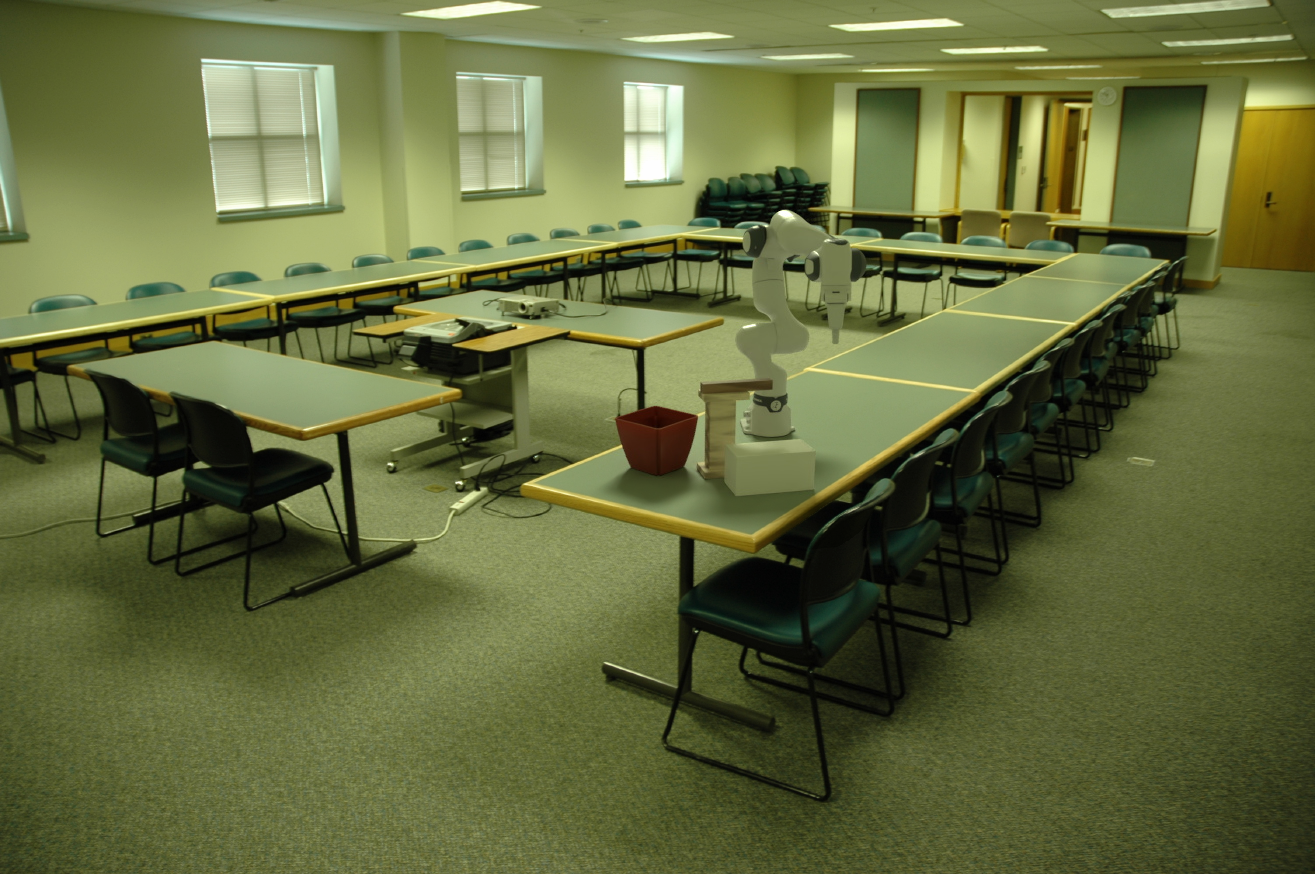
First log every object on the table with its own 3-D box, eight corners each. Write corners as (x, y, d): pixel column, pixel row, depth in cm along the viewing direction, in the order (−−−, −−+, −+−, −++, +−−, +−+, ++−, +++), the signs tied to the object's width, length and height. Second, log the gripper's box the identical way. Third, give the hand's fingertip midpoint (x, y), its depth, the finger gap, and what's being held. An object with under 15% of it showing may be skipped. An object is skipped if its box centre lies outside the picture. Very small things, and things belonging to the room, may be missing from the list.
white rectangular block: (724, 482, 278) (725, 444, 275) (799, 476, 283) (800, 438, 279) (735, 496, 267) (736, 457, 263) (813, 489, 272) (815, 451, 268)
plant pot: (614, 468, 291) (613, 417, 286) (655, 453, 305) (655, 404, 299) (658, 482, 279) (658, 429, 274) (699, 466, 292) (699, 415, 287)
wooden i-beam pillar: (696, 468, 290) (697, 388, 282) (739, 464, 293) (741, 386, 285) (705, 479, 281) (705, 396, 273) (748, 475, 284) (750, 394, 276)
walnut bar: (700, 391, 279) (700, 381, 278) (769, 387, 284) (769, 377, 283) (702, 393, 276) (702, 384, 275) (772, 389, 281) (772, 380, 280)
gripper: (825, 292, 280) (824, 338, 283) (824, 297, 260) (824, 346, 263) (846, 292, 279) (845, 337, 282) (847, 297, 259) (846, 346, 262)
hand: (835, 342), depth 273 cm, fingers open, 8 cm apart
